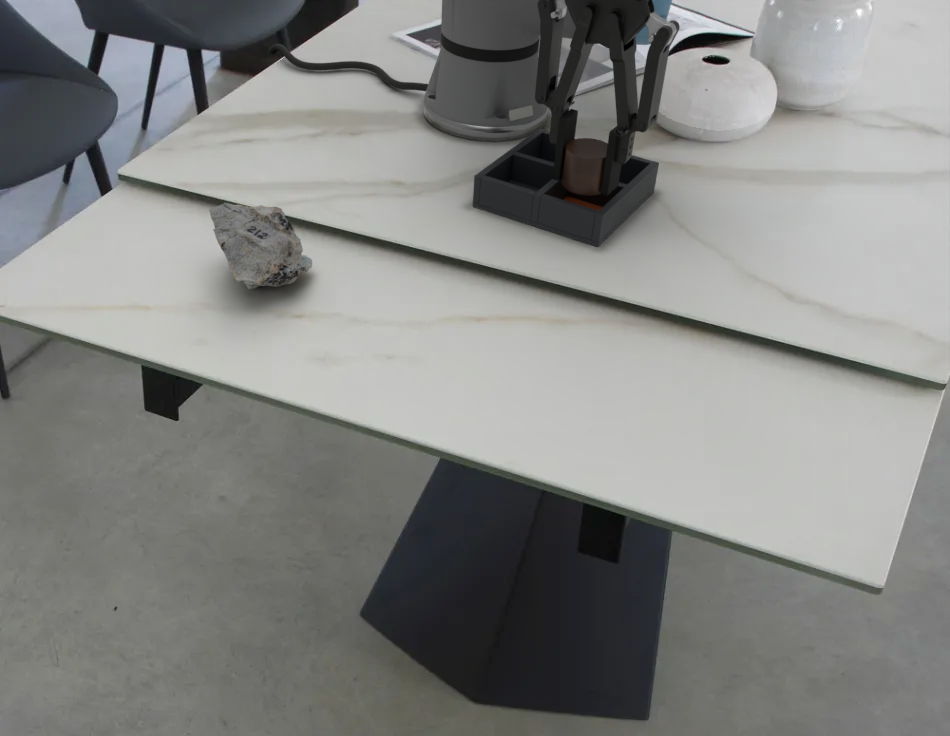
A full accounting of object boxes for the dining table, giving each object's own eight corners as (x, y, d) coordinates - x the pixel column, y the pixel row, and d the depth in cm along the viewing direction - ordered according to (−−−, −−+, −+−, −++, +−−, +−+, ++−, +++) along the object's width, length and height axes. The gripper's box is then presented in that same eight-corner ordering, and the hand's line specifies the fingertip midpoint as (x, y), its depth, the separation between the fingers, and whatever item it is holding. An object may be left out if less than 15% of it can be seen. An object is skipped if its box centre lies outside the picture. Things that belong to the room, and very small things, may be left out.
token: (553, 187, 105) (557, 150, 102) (574, 170, 108) (578, 133, 106) (596, 200, 104) (601, 162, 101) (615, 182, 107) (621, 145, 104)
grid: (472, 206, 110) (474, 175, 107) (536, 157, 120) (539, 128, 117) (597, 247, 105) (602, 215, 102) (654, 192, 114) (659, 162, 112)
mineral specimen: (296, 320, 101) (192, 298, 98) (307, 240, 102) (204, 217, 99) (316, 296, 92) (202, 272, 89) (328, 210, 93) (215, 183, 89)
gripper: (508, -76, 91) (492, 172, 106) (698, -35, 85) (650, 221, 100) (547, -93, 96) (526, 146, 111) (729, -55, 90) (679, 192, 105)
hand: (585, 181), depth 106 cm, fingers closed on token, 5 cm apart
